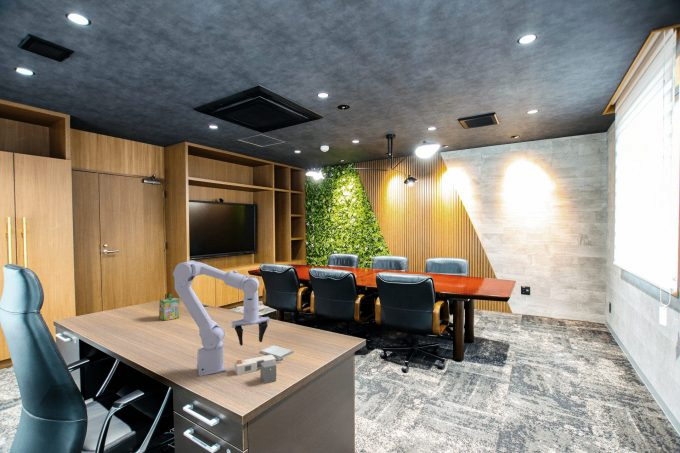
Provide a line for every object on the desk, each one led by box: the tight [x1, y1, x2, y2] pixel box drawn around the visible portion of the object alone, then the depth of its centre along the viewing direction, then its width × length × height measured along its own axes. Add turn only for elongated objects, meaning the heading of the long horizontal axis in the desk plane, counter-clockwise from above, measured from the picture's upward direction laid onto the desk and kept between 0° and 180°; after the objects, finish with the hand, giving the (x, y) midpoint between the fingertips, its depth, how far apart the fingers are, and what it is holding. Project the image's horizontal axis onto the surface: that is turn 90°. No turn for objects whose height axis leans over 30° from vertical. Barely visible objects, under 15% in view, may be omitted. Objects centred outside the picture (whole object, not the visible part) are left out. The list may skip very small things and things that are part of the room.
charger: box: [259, 361, 277, 384], centre depth 120 cm, size 4×7×6 cm, turn 30°
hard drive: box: [259, 344, 294, 359], centre depth 146 cm, size 2×8×12 cm
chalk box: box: [158, 293, 180, 321], centre depth 201 cm, size 9×9×15 cm
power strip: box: [233, 355, 284, 376], centre depth 130 cm, size 19×5×4 cm, turn 120°
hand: (250, 343), depth 129 cm, fingers open, 7 cm apart
